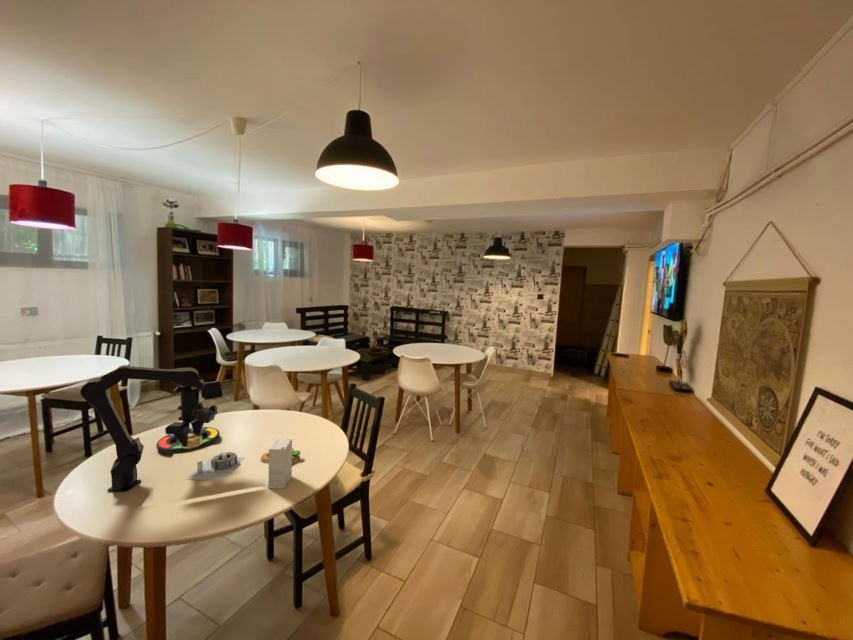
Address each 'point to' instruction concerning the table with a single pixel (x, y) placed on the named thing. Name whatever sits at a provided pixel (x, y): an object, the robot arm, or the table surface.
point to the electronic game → (175, 447)
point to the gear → (224, 461)
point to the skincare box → (280, 463)
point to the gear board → (211, 470)
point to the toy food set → (294, 456)
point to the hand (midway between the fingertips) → (191, 442)
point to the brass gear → (193, 441)
